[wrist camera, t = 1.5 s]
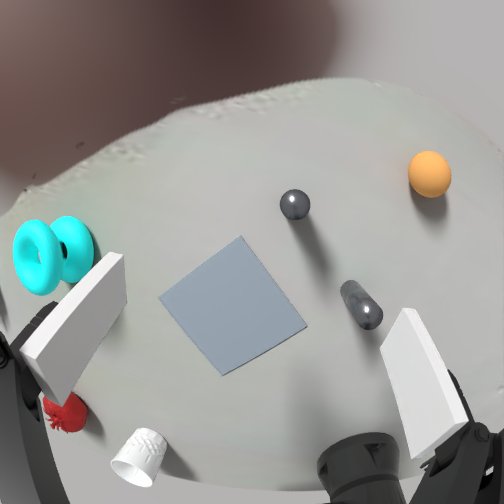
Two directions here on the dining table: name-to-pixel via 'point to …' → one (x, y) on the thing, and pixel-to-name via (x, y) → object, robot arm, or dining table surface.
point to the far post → (361, 305)
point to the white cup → (140, 457)
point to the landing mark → (232, 308)
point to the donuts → (52, 253)
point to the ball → (429, 174)
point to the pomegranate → (67, 414)
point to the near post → (295, 204)
